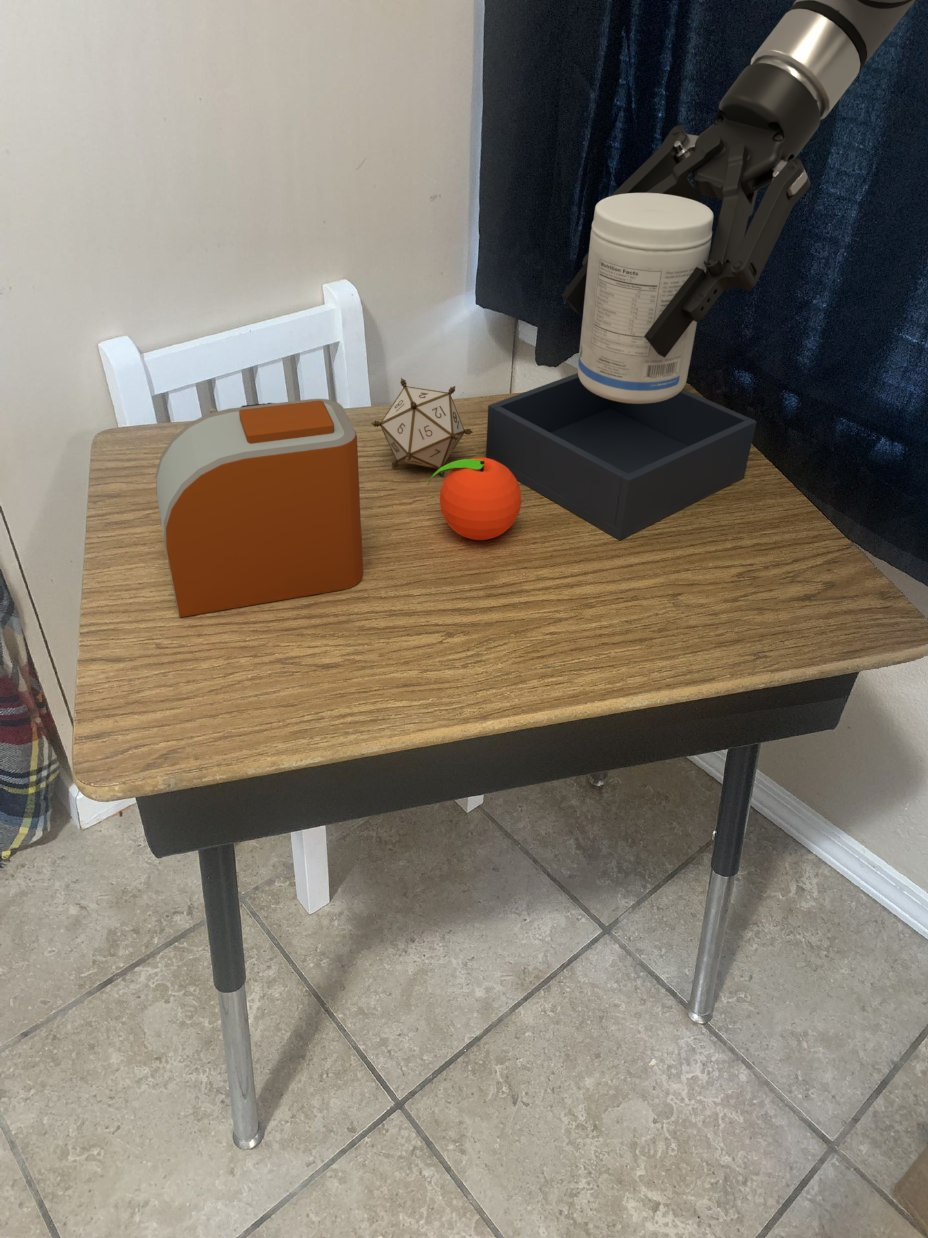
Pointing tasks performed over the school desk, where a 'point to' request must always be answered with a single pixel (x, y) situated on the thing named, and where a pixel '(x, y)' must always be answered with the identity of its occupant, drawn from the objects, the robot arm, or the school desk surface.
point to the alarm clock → (261, 505)
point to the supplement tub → (639, 293)
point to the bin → (618, 451)
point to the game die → (422, 427)
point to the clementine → (479, 498)
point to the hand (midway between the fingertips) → (611, 325)
